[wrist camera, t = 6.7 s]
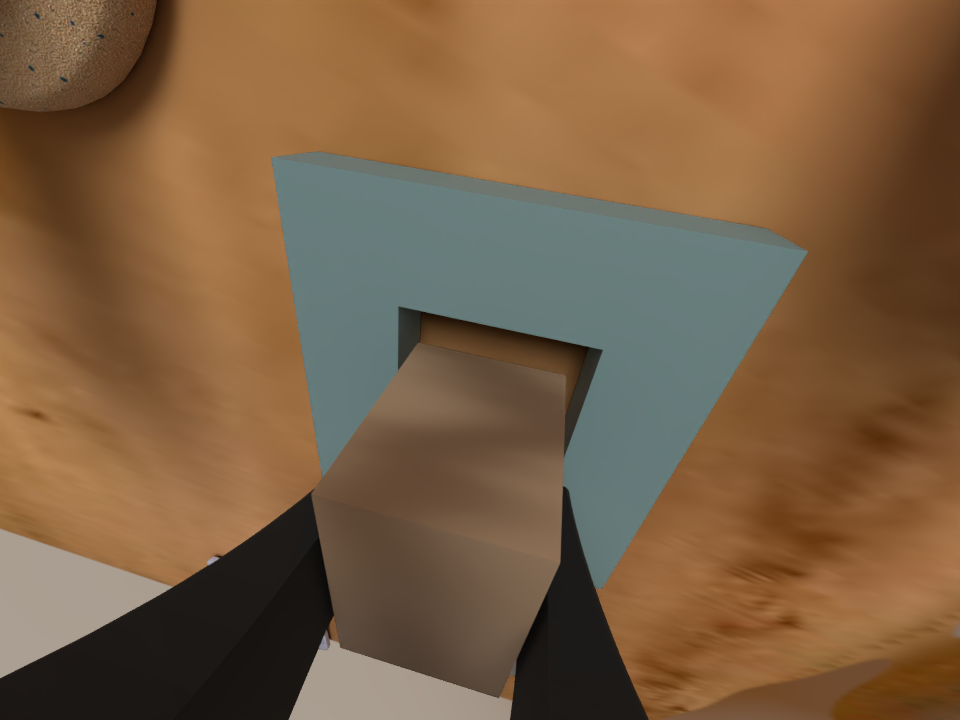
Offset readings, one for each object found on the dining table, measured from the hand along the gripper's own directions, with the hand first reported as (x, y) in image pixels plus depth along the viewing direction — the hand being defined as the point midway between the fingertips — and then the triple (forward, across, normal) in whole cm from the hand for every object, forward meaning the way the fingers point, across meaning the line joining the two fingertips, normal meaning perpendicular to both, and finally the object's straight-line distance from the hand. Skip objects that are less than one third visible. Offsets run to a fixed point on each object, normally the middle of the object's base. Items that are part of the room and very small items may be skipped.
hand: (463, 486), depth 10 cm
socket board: (+4, 0, 0) cm, 4 cm away
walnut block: (+2, 0, 0) cm, 2 cm away
